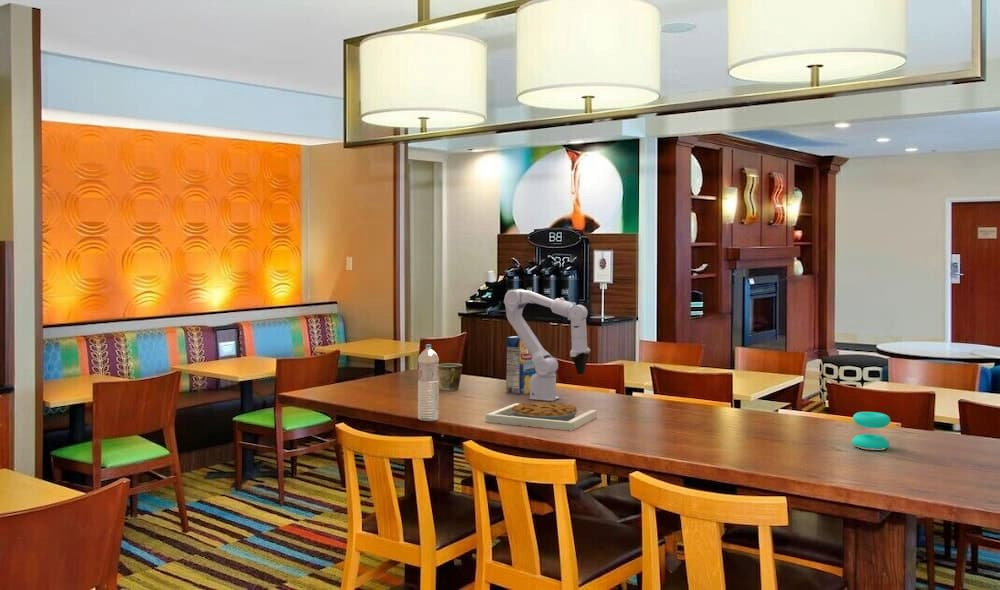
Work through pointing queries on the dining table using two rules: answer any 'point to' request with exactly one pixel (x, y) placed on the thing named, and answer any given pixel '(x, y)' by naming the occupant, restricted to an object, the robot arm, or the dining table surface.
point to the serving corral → (570, 425)
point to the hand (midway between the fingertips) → (580, 374)
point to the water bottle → (428, 385)
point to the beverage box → (518, 367)
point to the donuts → (871, 422)
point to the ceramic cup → (449, 375)
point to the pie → (545, 411)
